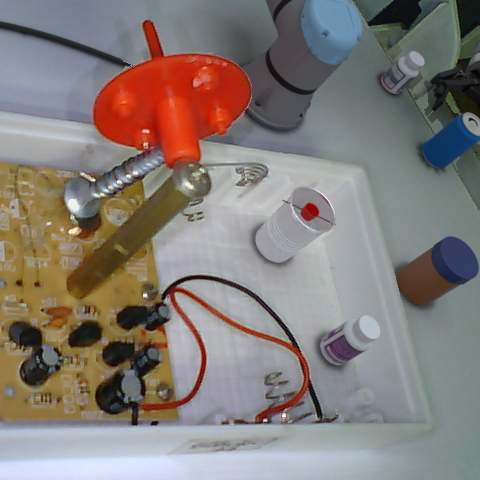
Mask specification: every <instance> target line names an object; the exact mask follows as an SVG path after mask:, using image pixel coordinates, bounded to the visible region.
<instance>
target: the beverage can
mask: <svg viewBox="0 0 480 480" xmlns="http://www.w3.org/2000/svg"><path fill="white" fill-rule="evenodd" d="M479 142H480V118H479V117H478V116H477V115H475V114H474V113H472V112H468V111H467V112H464V113H462V114H459V115H457V116H456V117H455V118H454V119H452V120H451V121H450V122H449V123H448V124H447V125H445V126H444V127H443V128H441V129H440V130H439V131H437V133H436V134H434V135H433V136H432V137H431V138H429V140H427V141H426V142H425V143H424V144H423V145H422V156H423V158H424V160H425V161H426V162H427V164H429V165H430V166H431V167H434V168H436V169H445V168H446V167H447V166H448V165H450V164H451V163H453V162H454V161H455V160H457V159H459V157H460V156H462V155H463V154H465V153H466V152H467V151H468V150H470V149H471V148H472V147H473V146H474V145H476V144H477V143H479Z"/></svg>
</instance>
